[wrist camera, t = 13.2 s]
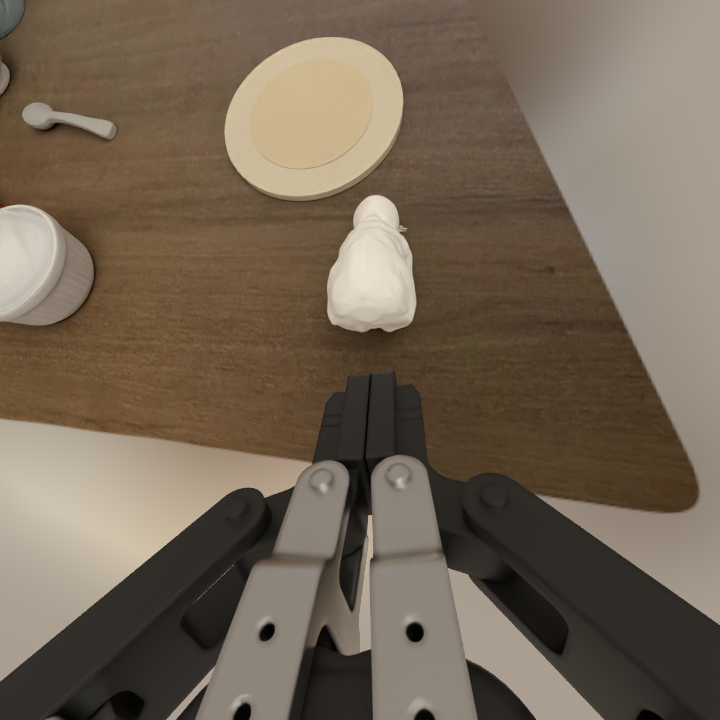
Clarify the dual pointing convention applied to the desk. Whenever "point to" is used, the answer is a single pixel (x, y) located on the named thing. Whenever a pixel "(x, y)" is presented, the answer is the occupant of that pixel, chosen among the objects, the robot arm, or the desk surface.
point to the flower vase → (3, 76)
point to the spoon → (66, 120)
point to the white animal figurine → (373, 272)
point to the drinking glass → (10, 15)
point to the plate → (314, 118)
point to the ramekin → (40, 268)
